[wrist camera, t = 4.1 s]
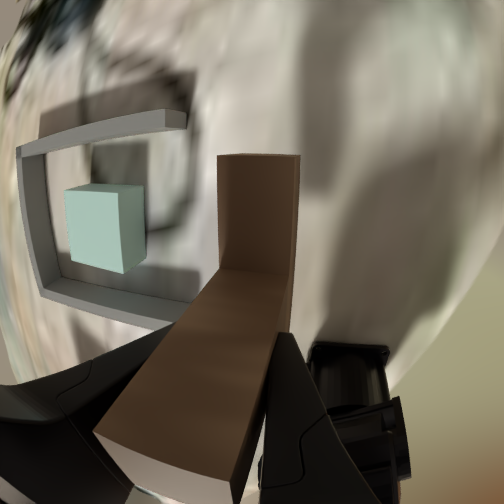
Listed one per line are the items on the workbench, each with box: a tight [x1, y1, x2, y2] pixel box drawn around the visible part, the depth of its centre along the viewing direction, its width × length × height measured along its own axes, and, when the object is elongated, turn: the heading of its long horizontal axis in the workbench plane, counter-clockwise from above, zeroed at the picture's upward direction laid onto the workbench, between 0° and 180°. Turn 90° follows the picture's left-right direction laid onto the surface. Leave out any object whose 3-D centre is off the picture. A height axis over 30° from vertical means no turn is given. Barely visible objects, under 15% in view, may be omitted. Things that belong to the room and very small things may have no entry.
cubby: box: [16, 108, 191, 331], centre depth 21 cm, size 18×16×3 cm
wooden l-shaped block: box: [93, 153, 300, 504], centre depth 8 cm, size 2×10×10 cm, turn 0°
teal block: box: [64, 183, 146, 274], centre depth 20 cm, size 6×6×4 cm
